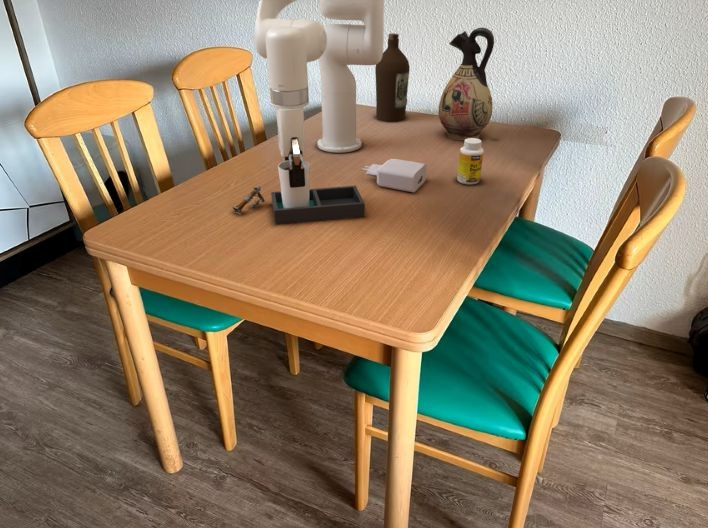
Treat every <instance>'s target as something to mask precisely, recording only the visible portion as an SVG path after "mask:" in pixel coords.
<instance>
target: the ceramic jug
mask: <svg viewBox="0 0 708 528" xmlns="http://www.w3.org/2000/svg"><path fill="white" fill-rule="evenodd" d="M477 37H483V38H484V39H486V49H485V51H484V54H483V57H482V59H481V62H480V64H479V65H478V62H477V58H476V55H479V54H481V53H482V48H481V46H480V45H479V43H478V42H477V40H476V38H477ZM449 45H450V46H452V47H454V48H456V49H457V50H459V51H460V52H462V55H463V57H462V61H461V64H459V67H458V68H457V69H456V71H455V72H454V73H453V74H452V76H451V78H449V80H448V82H447V83H446V85H445V87H444V89H443V91H442V93H441V97H440V100H439V103H438V117H439V121H440V124H441V125H442V127H443V128H444V129H445V131H446V134H447V137H448V138H449V139H452V140H456V141H465V139H468V138H477V139H480V133H481V132H482V131H483V130H484V129H485V128H486V127H487V126H488V124H489V123H490V121H491V118H492V115H493V97H492V94H491V90H490V87H489V84H488V82H487V72H486V69H487V68H486V67H487V65H488V62H489V59H490V58H491V55H492V53H493V49H494V45H495V36H494V34H493V32H492V31H491V30H490V29H489V28H487V27H478V28H475V29H473V30H472V31H471V32H470V34H469V35H468V33H467V31H466V30H464V31H463V32H462V33H458V34H457V35H455V37H453V39H451V41H449Z"/></svg>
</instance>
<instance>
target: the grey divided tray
mask: <svg viewBox="0 0 708 528" xmlns="http://www.w3.org/2000/svg"><path fill="white" fill-rule="evenodd" d="M358 189H359V188H358V187H357V185H344V186H332V187H319V188H318V187H317V188H309V206H308V207H295V208H283V202H282V194H281V190H279V191H271V192H270V194H271V207H272V213H273V218H274V224H275V225H283V224H295V223H308V222H320V221H321V222H322V221H332V220H343V219H355V218H365V214H366V213H365V212H366V211H365V206H366V205H365V201H364V199H363V197H362V195H361V193H360V191H359V190H358Z"/></svg>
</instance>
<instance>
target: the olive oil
mask: <svg viewBox="0 0 708 528" xmlns="http://www.w3.org/2000/svg"><path fill="white" fill-rule="evenodd" d="M387 37H388V38H387V48H386V49H385V50H383V56H382V59H381V61H380V62H379V63H378V64H376V65H375V67H374V69H375V72H374V73H375V109H376V110H375V112H376V119H377V120H379V121H383V122H387V123H388V122H401V121H403V120H405V119H406V111H407V105H408V90H409V79H410V63H409V59H408V58H407V56H406V55H405V54H404V53H403V51H402V50H401V49H400V38H399V37H400V34H399V33H395V32H394V33H393V32H392V33H388V35H387Z"/></svg>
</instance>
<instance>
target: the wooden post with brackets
mask: <svg viewBox="0 0 708 528" xmlns="http://www.w3.org/2000/svg"><path fill="white" fill-rule="evenodd" d="M261 188H262V186H261V185H258V186H257V185H255V186H254V187H253V189H252V191H251V192H250V193H248V194H247V195H245V197H244V198H243V200H242V201H241V202H240V203H238V204H237V205H235V206H234V205H232V206H231V207H232V209H233V210H234V212H235V213H236V214H238V215H241V214H242V210H243V209H244V208H245V207H246V205H247V204H249V203H250V202H251V201H252V200H253V199H254V197H256V198H257V197H258V199H257V200H254V201H253V202H252V203H251V208H252V209H254V208H255V209H256V208H257V207H258V206H260V202H261V203H262V204H263V203H265V202H266V200H265V198H264V197H263V195H262V194H261Z"/></svg>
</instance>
